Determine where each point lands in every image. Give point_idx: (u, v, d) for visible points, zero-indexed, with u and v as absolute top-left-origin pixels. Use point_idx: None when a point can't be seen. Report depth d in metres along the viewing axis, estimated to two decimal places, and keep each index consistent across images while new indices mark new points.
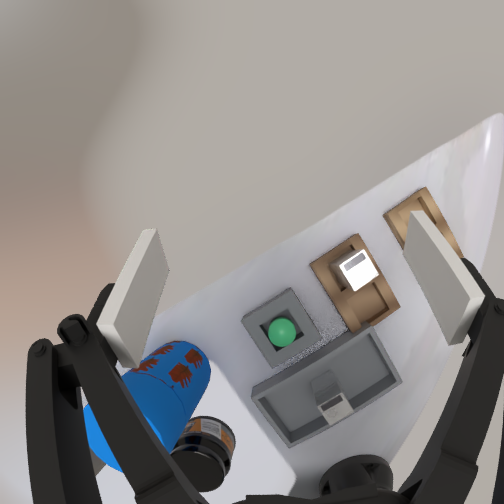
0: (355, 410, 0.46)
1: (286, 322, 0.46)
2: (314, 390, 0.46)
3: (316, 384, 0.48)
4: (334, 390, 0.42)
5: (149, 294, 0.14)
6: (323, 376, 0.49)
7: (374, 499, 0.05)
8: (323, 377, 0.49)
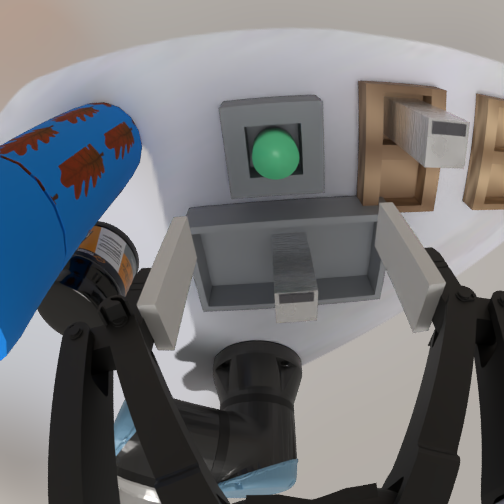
0: None
1: (292, 144, 0.26)
2: (274, 256, 0.34)
3: (279, 247, 0.35)
4: (306, 278, 0.30)
5: (182, 279, 0.15)
6: (292, 239, 0.36)
7: (374, 499, 0.05)
8: (292, 240, 0.36)
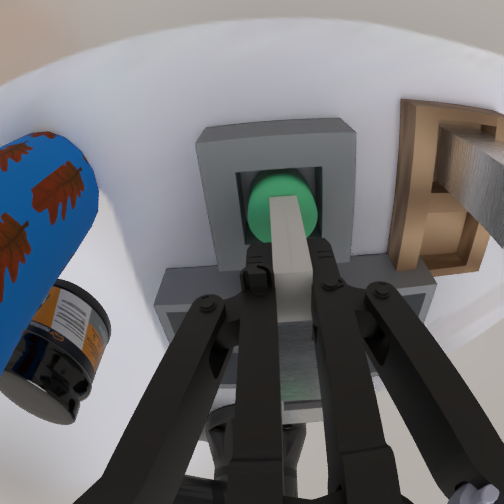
0: None
1: (308, 198, 0.18)
2: None
3: (284, 323, 0.26)
4: None
5: None
6: None
7: None
8: None
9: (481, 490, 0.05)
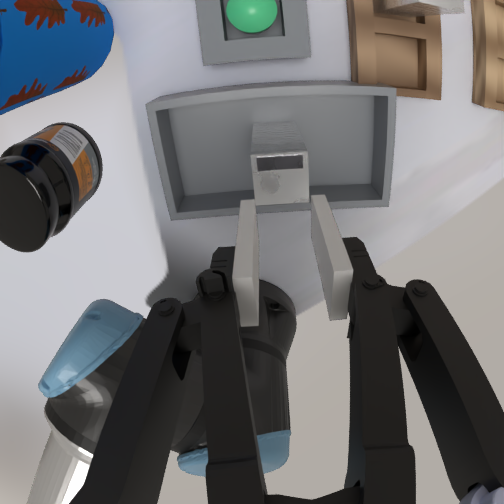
0: (300, 206, 0.31)
1: None
2: (255, 134, 0.26)
3: (261, 129, 0.28)
4: (293, 144, 0.23)
5: (256, 258, 0.16)
6: (277, 125, 0.28)
7: None
8: (277, 125, 0.28)
9: (493, 492, 0.04)
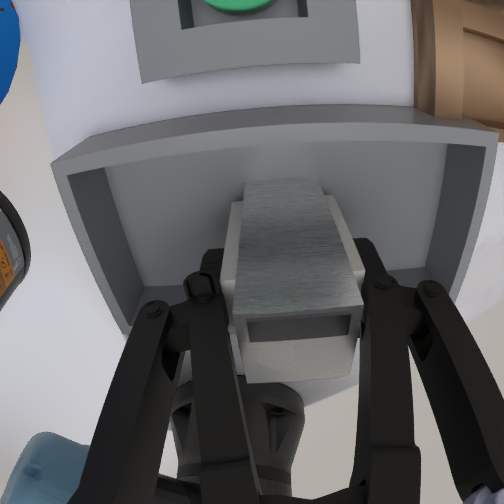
0: None
1: None
2: (246, 220, 0.14)
3: (260, 201, 0.16)
4: (327, 270, 0.11)
5: None
6: (289, 188, 0.16)
7: None
8: (288, 190, 0.16)
9: (496, 493, 0.04)
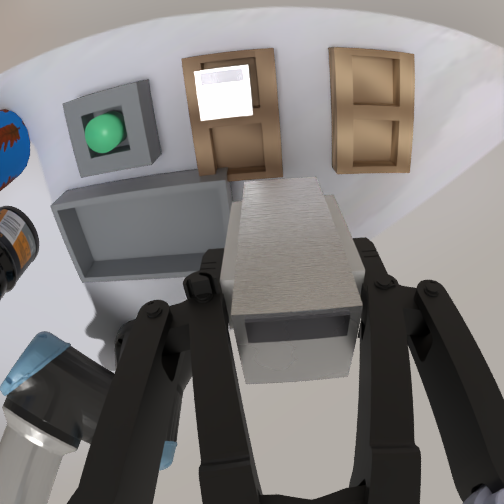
0: (165, 275, 0.39)
1: (111, 122, 0.28)
2: (245, 220, 0.14)
3: (259, 201, 0.15)
4: (326, 270, 0.11)
5: None
6: (288, 189, 0.16)
7: None
8: (287, 190, 0.16)
9: (496, 493, 0.04)
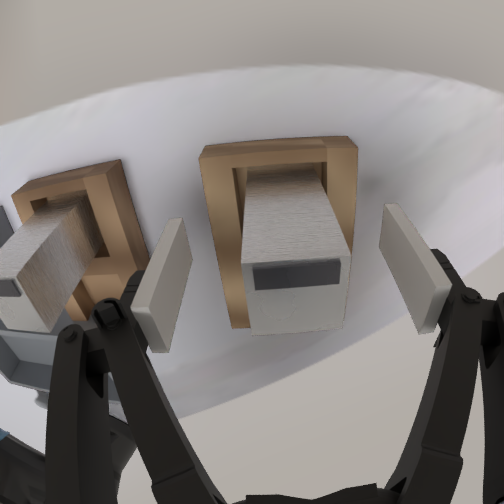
0: None
1: None
2: (250, 195, 0.16)
3: (261, 181, 0.18)
4: (320, 230, 0.13)
5: (176, 281, 0.15)
6: (286, 170, 0.18)
7: (374, 499, 0.05)
8: (286, 172, 0.18)
9: None
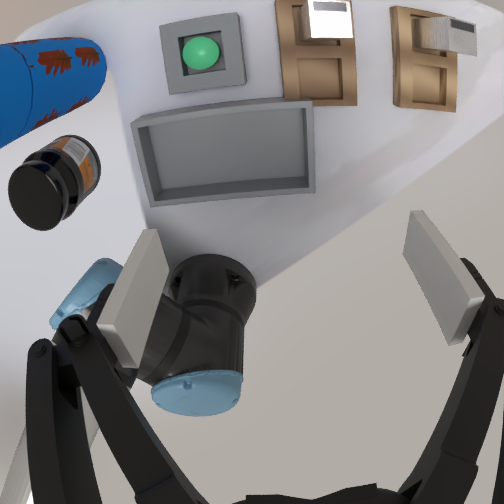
0: (244, 194, 0.41)
1: (212, 42, 0.30)
2: (425, 18, 0.26)
3: None
4: None
5: (149, 294, 0.14)
6: None
7: (374, 499, 0.05)
8: None
9: None
